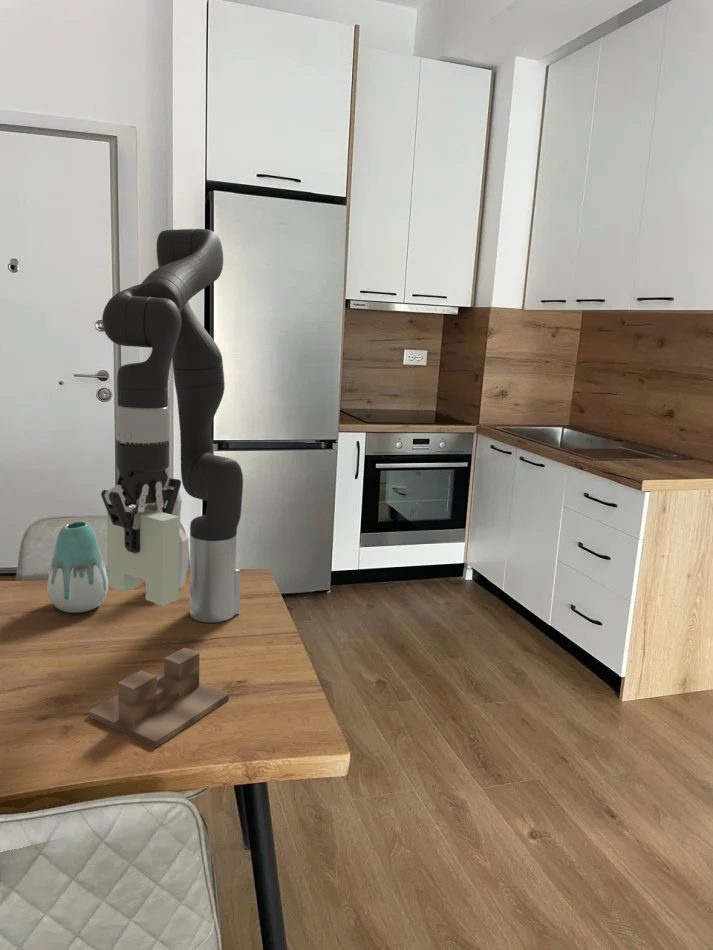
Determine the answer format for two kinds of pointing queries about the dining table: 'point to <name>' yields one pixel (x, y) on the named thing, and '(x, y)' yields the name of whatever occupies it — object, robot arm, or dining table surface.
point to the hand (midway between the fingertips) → (143, 548)
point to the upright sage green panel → (147, 557)
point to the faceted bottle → (181, 545)
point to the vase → (77, 570)
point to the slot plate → (160, 700)
